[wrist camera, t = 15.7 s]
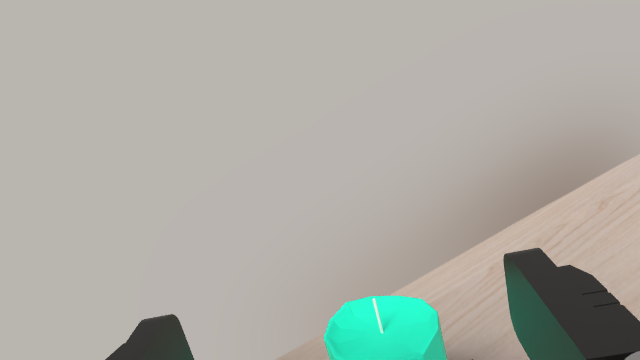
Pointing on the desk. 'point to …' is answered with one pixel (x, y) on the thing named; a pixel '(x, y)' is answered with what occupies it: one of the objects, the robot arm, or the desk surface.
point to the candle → (385, 330)
